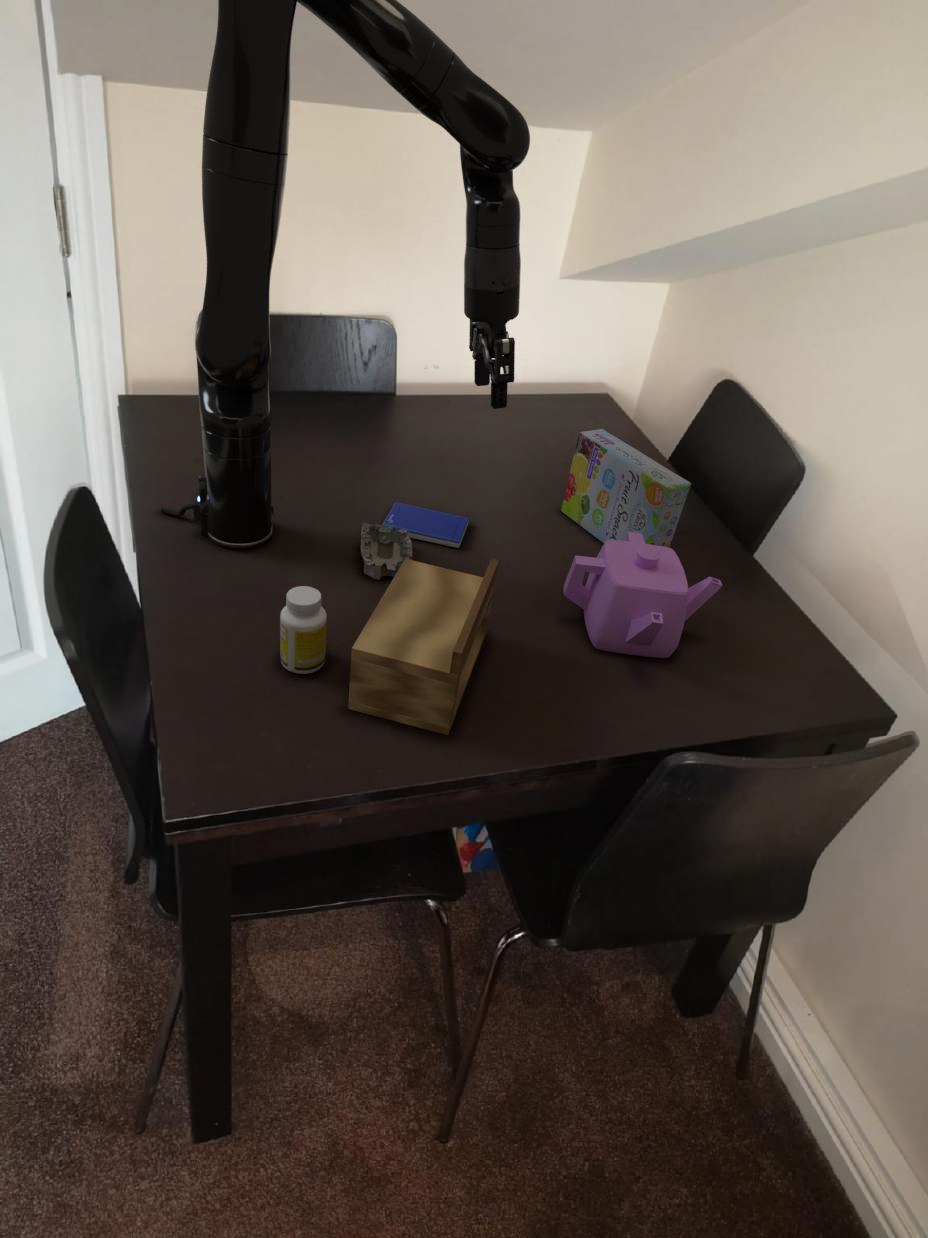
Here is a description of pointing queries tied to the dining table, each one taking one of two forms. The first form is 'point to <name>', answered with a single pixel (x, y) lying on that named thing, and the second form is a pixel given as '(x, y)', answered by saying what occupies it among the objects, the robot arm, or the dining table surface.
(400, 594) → the lipped wooden block
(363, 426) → the dining table surface
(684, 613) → the teakettle
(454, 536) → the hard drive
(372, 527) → the egg carton
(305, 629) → the supplement bottle
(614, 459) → the snack box
